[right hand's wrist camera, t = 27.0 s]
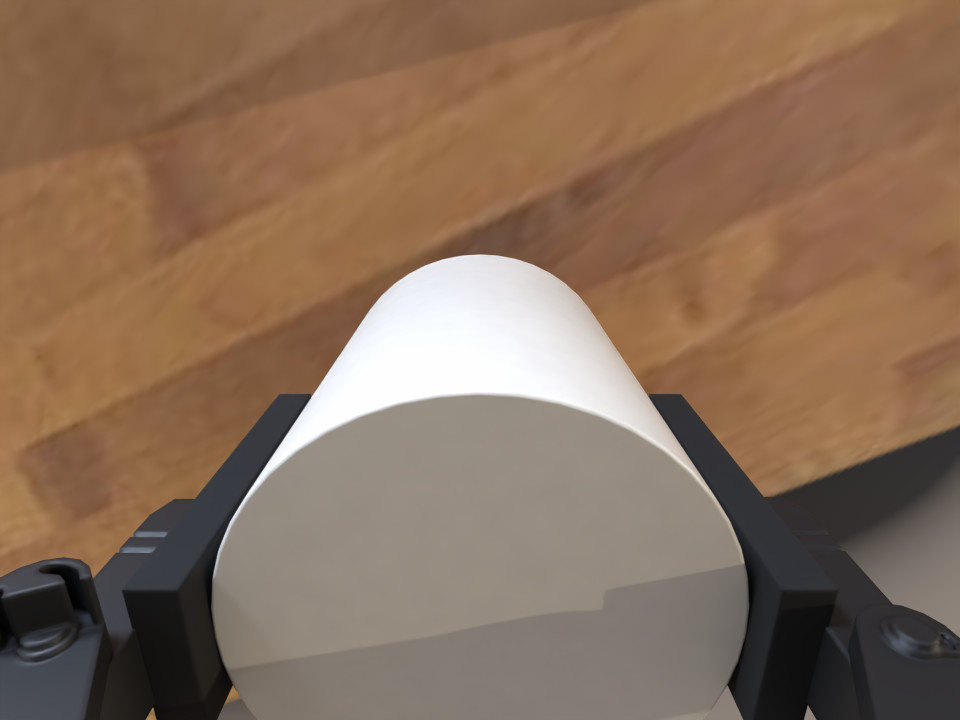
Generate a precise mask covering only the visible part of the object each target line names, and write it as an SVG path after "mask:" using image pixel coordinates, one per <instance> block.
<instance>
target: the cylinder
mask: <svg viewBox="0 0 960 720" xmlns="http://www.w3.org/2000/svg"><path fill="white" fill-rule="evenodd" d="M211 611H212V619H213V627H214V635H215V639H216V642H217V646H218V649H219V652H220V656H221V659H222V663H223V665H224V667H225V669H226V671H227V673H228V675H229V677H230V679H231V682H232V684H233V686H234V688H235V689H236V691H237V692H238V694H239V695H240V697H241V698H242V700H243V701H244V703H245V704H246V706H247V707H248V709H249V710H250V711H251V713H252V714H253V715H254V716H255V717H256V718H257V719H258V720H703V719H704V717H705V716H706V715H707V714H708V713H709V712H710V711H711V709H712V708H713V706H714V705H715V703H716V702H717V700H718V699H719V697H720V696H721V694H722V693H723V691H724V690H725V688H726V687H727V685H728V683H729V680H730V678H731V676H732V674H733V672H734V670H735V667H736V665H737V663H738V661H739V657H740V654H741V650H742V647H743V643H744V640H745V637H746V630H747V622H748V613H749V592H748V576H747V572H746V567H745V563H744V558H743V554H742V549H741V547H740V544H739V542H738V539H737V537H736V534H735V532H734V530H733V527H732V525H731V522H730V520H729V519H728V517H727V515H726V514H725V512H724V511H723V509H722V507H721V506H720V504H719V503H718V501H717V499H716V498H715V496H714V494H713V493H712V491H711V490H710V488H709V487H708V485H707V484H706V482H705V481H704V479H703V478H702V477H701V475H700V474H699V472H698V471H697V469H696V468H695V466H694V465H693V463H692V462H691V460H690V459H689V457H688V456H687V454H686V453H685V451H684V450H683V448H682V447H681V445H680V444H679V442H678V441H677V439H676V438H675V436H674V435H673V433H672V432H671V430H670V429H669V427H668V426H667V424H666V423H665V421H664V420H663V418H662V417H661V415H660V414H659V412H658V411H657V409H656V408H655V406H654V405H653V403H652V402H651V400H650V399H649V397H648V396H647V394H646V393H645V391H644V390H643V388H642V387H641V385H640V384H639V382H638V381H637V379H636V378H635V376H634V375H633V373H632V372H631V370H630V369H629V367H628V366H627V364H626V363H625V361H624V360H623V358H622V357H621V355H620V354H619V352H618V351H617V349H616V348H615V346H614V345H613V343H612V342H611V340H610V339H609V337H608V336H607V334H606V333H605V331H604V330H603V328H602V327H601V325H600V324H599V322H598V321H597V319H596V318H595V316H594V315H593V314H592V312H591V311H590V309H589V308H588V306H587V305H586V304H585V303H584V302H583V301H582V299H581V298H580V297H579V296H578V295H577V294H576V293H575V292H574V291H573V290H572V289H571V288H570V287H568V286H567V285H566V284H565V283H564V282H562V281H561V280H559V279H558V278H556V277H555V276H553V275H552V274H550V273H549V272H547V271H545V270H543V269H540V268H538V267H536V266H534V265H532V264H529V263H526V262H523V261H520V260H517V259H512V258H507V257H502V256H495V255H466V256H458V257H453V258H448V259H443V260H440V261H437V262H434V263H431V264H429V265H426V266H424V267H422V268H420V269H418V270H416V271H414V272H412V273H410V274H408V275H407V276H405V277H404V278H402V279H401V280H399V281H398V282H397V283H395V284H394V285H393V286H392V287H391V288H390V289H388V290H387V291H386V292H385V293H384V294H383V295H382V296H381V297H380V298H379V300H378V301H377V302H376V303H375V304H374V306H373V307H372V308H371V309H370V311H369V312H368V314H367V315H366V317H365V318H364V320H363V321H362V323H361V324H360V326H359V327H358V329H357V330H356V332H355V333H354V335H353V336H352V338H351V339H350V341H349V342H348V344H347V345H346V347H345V348H344V350H343V351H342V353H341V354H340V356H339V357H338V359H337V360H336V362H335V363H334V365H333V366H332V368H331V369H330V371H329V372H328V374H327V375H326V377H325V378H324V380H323V381H322V383H321V384H320V386H319V387H318V389H317V390H316V392H315V393H314V395H313V396H312V398H311V399H310V401H309V402H308V404H307V405H306V407H305V408H304V410H303V411H302V413H301V414H300V416H299V417H298V419H297V420H296V422H295V423H294V425H293V426H292V428H291V429H290V431H289V432H288V434H287V435H286V437H285V438H284V440H283V441H282V443H281V444H280V446H279V447H278V449H277V450H276V452H275V453H274V455H273V456H272V458H271V459H270V461H269V462H268V464H267V465H266V466H265V468H264V469H263V471H262V472H261V474H260V475H259V477H258V478H257V480H256V481H255V483H254V484H253V486H252V487H251V489H250V490H249V492H248V493H247V495H246V497H245V498H244V500H243V501H242V503H241V505H240V506H239V508H238V510H237V511H236V513H235V515H234V516H233V518H232V520H231V521H230V523H229V526H228V528H227V531H226V533H225V535H224V538H223V540H222V543H221V545H220V548H219V551H218V555H217V560H216V564H215V569H214V574H213V578H212V602H211Z"/></svg>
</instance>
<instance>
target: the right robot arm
mask: <svg viewBox="0 0 960 720" xmlns="http://www.w3.org/2000/svg"><path fill="white" fill-rule="evenodd" d="M310 399H311V394H279V395H278V397H277V398H276V399H275V400H274V402H273V403H272V404H271V405H270V407H269V408H268V409H267V410H266V412H265V413H264V414H263V415H262V417H261V418H260V419H259V420H258V422H257V423H256V424H255V425H254V426H253V428H252V429H251V430H250V431H249V433H248V434H247V435H246V436H245V438H244V439H243V440H242V441H241V443H240V444H239V445H238V446H237V448H236V449H235V450H234V451H233V453H232V454H231V455H230V456H229V458H228V459H227V460H226V461H225V463H224V464H223V465H222V466H221V467H220V469H219V470H218V471H217V472H216V474H215V475H214V476H213V477H212V479H211V480H210V481H209V482H208V484H207V485H206V486H205V487H204V489H203V490H202V491H201V492H200V494H199V495H198V496H197V497H196V499H174V500H173V501H171V502H169V503H168V504H166V505H165V506H163V507H162V508H160V509H159V510H157V511H155V512H154V513H152V514H151V515H150V516H149V517H148V518H147V519H146V520H145V521H144V522H143V523H142V525H141V526H140V527H139V528H138V529H137V530H136V531H135V532H134V535H133V537H130V538H129V539H128V540H127V541H126V542H125V544H124V545H123V546H122V547H121V548H120V552H119V553H116V554H115V555H114V556H113V557H112V558H111V559H110V560H109V561H108V563H107V564H106V565H105V566H104V567H103V568H102V569H101V570H100V572H99V573H98V574H97V575H96V576H95V577H94V578H92V574H91V571H90V567H89V566H88V565H87V564H85V563H84V562H83V561H81V560H80V559H72V558H56V559H49V560H42V561H39V562H36V563H33V564H30V565H27V566H24V567H21V568H19V569H16V570H14V571H12V572H10V573H8V574H6V575H4V576H2V577H0V720H146V718H147V716H148V715H149V713H150V711H151V710H152V708H154V712H155V715H156V719H157V720H217V719H218V716H219V714H220V712H221V710H222V708H223V705H224V703H225V701H226V699H227V697H228V695H229V692H230V690H231V688H232V686H233V684H232V682H231V679H230V677H229V675H228V673H227V671H226V669H225V667H224V665H223V663H222V659H221V656H220V652H219V649H218V646H217V642H216V639H215V635H214V627H213V619H212V611H211V602H212V578H213V574H214V569H215V564H216V560H217V555H218V551H219V548H220V545H221V543H222V540H223V538H224V535H225V533H226V531H227V528H228V526H229V523H230V521H231V520H232V518H233V516H234V515H235V513H236V511H237V510H238V508H239V506H240V505H241V503H242V501H243V500H244V498H245V497H246V495H247V493H248V492H249V490H250V489H251V487H252V486H253V484H254V483H255V481H256V480H257V478H258V477H259V475H260V474H261V472H262V471H263V469H264V468H265V466H266V465H267V464H268V462H269V461H270V459H271V458H272V456H273V455H274V453H275V452H276V450H277V449H278V447H279V446H280V444H281V443H282V441H283V440H284V438H285V437H286V435H287V434H288V432H289V431H290V429H291V428H292V426H293V425H294V423H295V422H296V420H297V419H298V417H299V416H300V414H301V413H302V411H303V410H304V408H305V407H306V405H307V404H308V402H309V401H310ZM649 399H650V400H651V402H652V403H653V405H654V406H655V408H656V409H657V411H658V412H659V414H660V415H661V417H662V418H663V420H664V421H665V423H666V424H667V426H668V427H669V429H670V430H671V432H672V433H673V435H674V436H675V438H676V439H677V441H678V442H679V444H680V445H681V447H682V448H683V450H684V451H685V453H686V454H687V456H688V457H689V459H690V460H691V462H692V463H693V465H694V466H695V468H696V469H697V471H698V472H699V474H700V475H701V477H702V478H703V479H704V481H705V482H706V484H707V485H708V487H709V488H710V490H711V491H712V493H713V494H714V496H715V498H716V499H717V501H718V503H719V504H720V506H721V507H722V509H723V511H724V512H725V514H726V515H727V517H728V519H729V520H730V522H731V525H732V527H733V530H734V532H735V534H736V537H737V539H738V542H739V544H740V547H741V549H742V554H743V558H744V563H745V567H746V572H747V576H748V592H749V613H748V622H747V630H746V637H745V640H744V643H743V647H742V650H741V654H740V657H739V661H738V663H737V665H736V667H735V670H734V672H733V674H732V676H731V678H730V680H729V683H728V687H729V689H730V691H731V694H732V696H733V698H734V700H735V702H736V705H737V707H738V709H739V711H740V713H741V716H742V718H743V720H804V717H805V713H806V710H807V706H809V708H810V709H811V711H812V713H813V714H814V716H815V718H816V720H960V638H959V637H958V636H957V635H955V634H954V633H953V632H952V631H951V630H950V629H948V628H947V627H946V626H945V625H943V624H941V623H940V622H938V621H936V620H934V619H932V618H931V617H929V616H927V615H925V614H924V613H921V612H918V611H915V610H912V609H910V608H907V607H904V606H900V605H893V604H892V603H891V602H890V601H889V600H888V598H887V597H886V596H885V595H884V594H883V593H882V592H881V591H880V590H879V588H878V587H877V586H876V585H875V584H874V583H873V582H872V581H871V580H870V578H869V577H868V576H867V575H866V574H865V573H864V572H863V571H862V570H861V568H860V567H859V566H858V565H857V564H856V563H855V562H854V561H853V560H852V558H851V557H850V556H849V555H848V554H847V553H846V552H845V551H842V550H841V546H840V545H839V544H838V543H837V542H836V541H835V539H834V538H833V537H832V536H831V535H828V534H827V531H826V529H825V528H824V527H823V526H822V525H821V524H820V523H819V522H818V521H817V519H816V518H815V517H814V516H813V515H812V514H811V513H810V512H808V511H807V510H805V509H804V508H802V507H800V506H799V505H797V504H796V503H794V502H793V501H791V500H789V499H788V498H786V497H763V496H762V494H761V493H760V492H759V491H758V489H757V488H756V487H755V486H754V484H753V483H752V482H751V481H750V479H749V478H748V477H747V476H746V474H745V473H744V472H743V471H742V469H741V468H740V467H739V466H738V464H737V463H736V462H735V461H734V460H733V458H732V457H731V456H730V455H729V453H728V452H727V451H726V450H725V448H724V447H723V446H722V445H721V443H720V442H719V441H718V440H717V438H716V437H715V436H714V435H713V433H712V432H711V431H710V430H709V428H708V427H707V426H706V425H705V424H704V422H703V421H702V420H701V419H700V417H699V416H698V415H697V414H696V412H695V411H694V410H693V409H692V407H691V406H690V405H689V404H688V402H687V401H686V400H685V399H684V397H683V396H682V395H681V394H650V395H649Z"/></svg>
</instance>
